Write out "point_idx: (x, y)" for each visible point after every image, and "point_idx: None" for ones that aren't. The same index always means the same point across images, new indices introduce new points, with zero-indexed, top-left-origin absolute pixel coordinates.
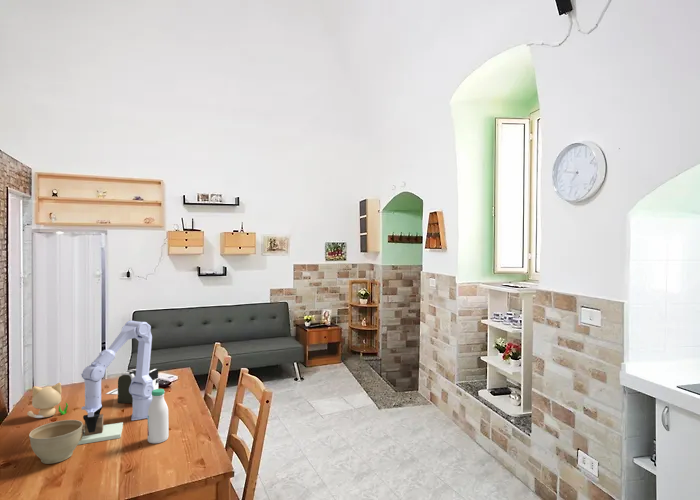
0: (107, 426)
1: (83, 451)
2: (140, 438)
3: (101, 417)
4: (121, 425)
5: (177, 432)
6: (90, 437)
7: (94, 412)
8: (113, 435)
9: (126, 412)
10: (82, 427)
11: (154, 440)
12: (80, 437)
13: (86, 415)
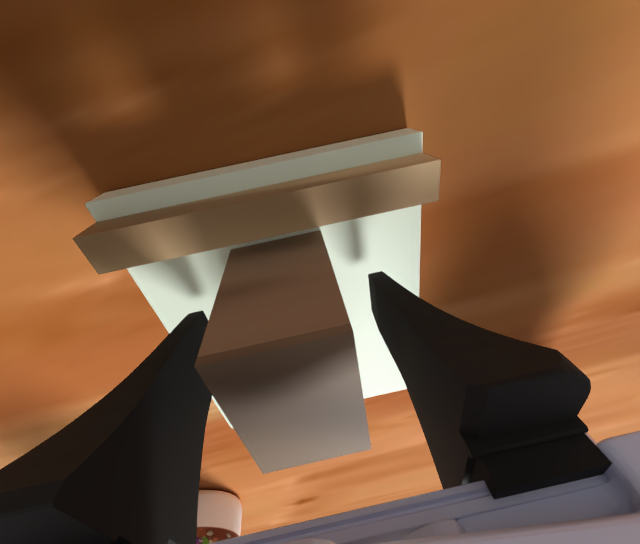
0: (380, 336)
1: (12, 304)
2: (220, 465)
3: (266, 469)
4: (366, 395)
5: (264, 521)
6: (185, 304)
7: (425, 400)
8: (218, 407)
9: (618, 324)
10: (351, 199)
11: None
12: (100, 269)
13: (56, 532)
